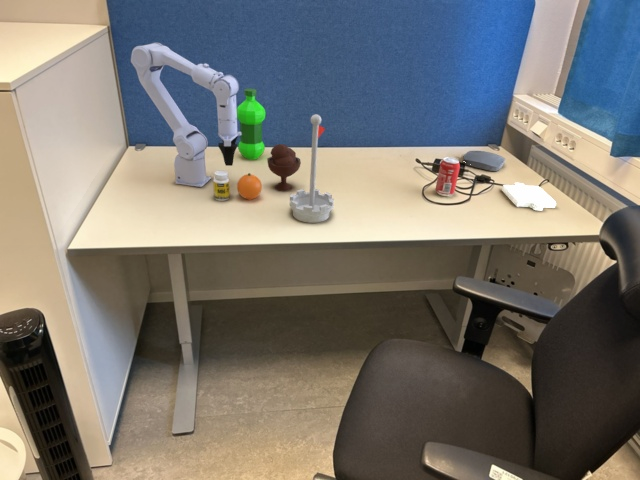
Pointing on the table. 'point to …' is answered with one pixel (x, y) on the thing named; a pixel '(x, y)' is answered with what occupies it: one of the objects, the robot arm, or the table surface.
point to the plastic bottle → (251, 126)
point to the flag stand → (312, 188)
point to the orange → (249, 186)
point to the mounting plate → (528, 196)
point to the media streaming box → (484, 160)
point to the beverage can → (447, 176)
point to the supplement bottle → (221, 186)
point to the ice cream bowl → (283, 164)
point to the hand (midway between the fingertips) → (229, 160)
